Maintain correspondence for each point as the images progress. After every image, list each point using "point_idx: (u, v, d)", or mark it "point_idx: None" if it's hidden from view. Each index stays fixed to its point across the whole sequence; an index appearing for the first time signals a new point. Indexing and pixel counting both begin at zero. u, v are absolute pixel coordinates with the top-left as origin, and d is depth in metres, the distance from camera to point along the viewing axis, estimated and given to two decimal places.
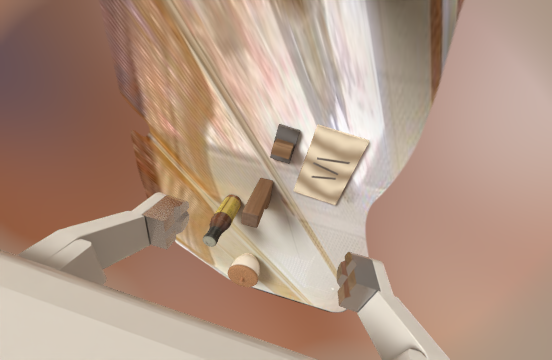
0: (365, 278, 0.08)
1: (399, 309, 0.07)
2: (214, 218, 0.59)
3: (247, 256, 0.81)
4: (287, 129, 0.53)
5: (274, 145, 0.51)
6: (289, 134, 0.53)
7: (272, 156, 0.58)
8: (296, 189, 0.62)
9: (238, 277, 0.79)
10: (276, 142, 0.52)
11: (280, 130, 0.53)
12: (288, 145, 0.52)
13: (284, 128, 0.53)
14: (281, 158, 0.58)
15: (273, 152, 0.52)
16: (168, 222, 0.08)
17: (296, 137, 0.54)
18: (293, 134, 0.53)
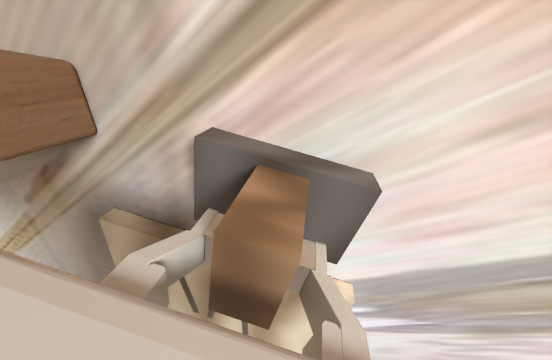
0: (302, 258, 0.08)
1: (328, 286, 0.07)
2: None
3: None
4: (353, 226, 0.11)
5: (289, 262, 0.06)
6: (327, 231, 0.12)
7: (205, 150, 0.10)
8: (111, 228, 0.17)
9: None
10: None
11: (351, 198, 0.10)
12: None
13: (360, 215, 0.11)
14: (205, 189, 0.12)
15: (231, 247, 0.06)
16: None
17: None
18: None
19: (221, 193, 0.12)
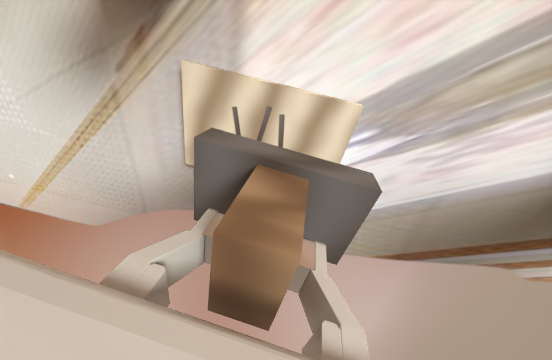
0: (302, 258, 0.08)
1: (328, 286, 0.07)
2: None
3: None
4: (353, 227, 0.11)
5: (289, 263, 0.06)
6: (327, 232, 0.12)
7: (204, 150, 0.10)
8: (189, 69, 0.23)
9: None
10: None
11: (351, 198, 0.10)
12: None
13: (360, 215, 0.11)
14: (205, 190, 0.12)
15: (230, 247, 0.06)
16: None
17: None
18: None
19: (221, 194, 0.12)
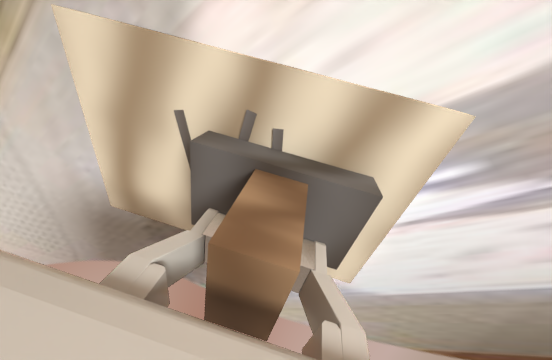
0: (302, 258, 0.08)
1: (328, 286, 0.07)
2: None
3: None
4: (353, 232, 0.11)
5: (287, 275, 0.06)
6: (327, 237, 0.11)
7: (201, 154, 0.10)
8: (73, 25, 0.11)
9: None
10: None
11: (352, 203, 0.10)
12: None
13: (360, 221, 0.10)
14: (202, 194, 0.12)
15: (226, 258, 0.06)
16: None
17: None
18: None
19: (218, 198, 0.11)
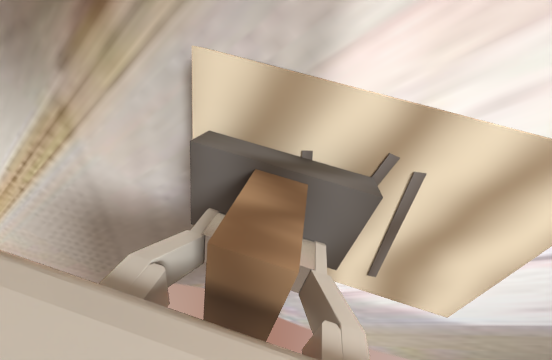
0: (302, 258, 0.08)
1: (328, 286, 0.07)
2: None
3: None
4: (353, 232, 0.11)
5: (287, 275, 0.06)
6: (327, 237, 0.11)
7: (201, 154, 0.10)
8: (211, 66, 0.10)
9: None
10: None
11: (352, 204, 0.10)
12: None
13: (360, 221, 0.10)
14: (202, 194, 0.12)
15: (226, 258, 0.06)
16: None
17: None
18: None
19: (218, 198, 0.11)
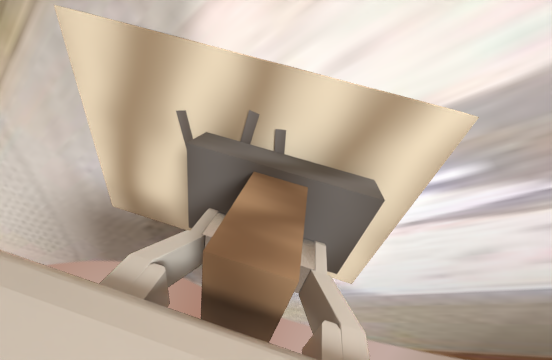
0: (302, 258, 0.08)
1: (328, 286, 0.07)
2: None
3: None
4: (354, 236, 0.11)
5: (286, 284, 0.06)
6: (327, 241, 0.11)
7: (198, 156, 0.10)
8: (76, 26, 0.11)
9: None
10: None
11: (353, 207, 0.10)
12: None
13: (361, 225, 0.10)
14: (199, 197, 0.11)
15: (222, 267, 0.06)
16: None
17: None
18: None
19: (216, 201, 0.11)
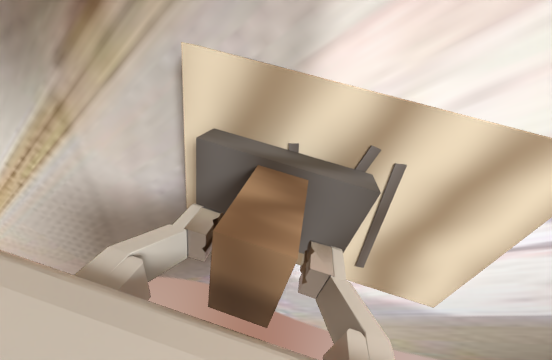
0: (320, 264, 0.08)
1: (348, 293, 0.07)
2: None
3: None
4: (352, 227, 0.11)
5: (286, 262, 0.06)
6: (327, 232, 0.12)
7: (206, 150, 0.11)
8: (200, 62, 0.10)
9: None
10: None
11: (350, 199, 0.10)
12: None
13: (359, 216, 0.11)
14: (206, 189, 0.12)
15: (230, 246, 0.06)
16: (208, 235, 0.08)
17: None
18: None
19: (222, 193, 0.12)
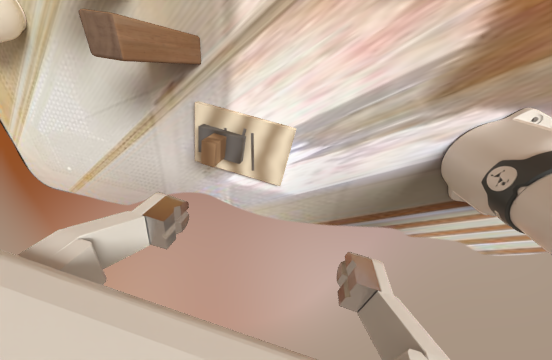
0: (365, 278, 0.08)
1: (399, 309, 0.07)
2: None
3: (10, 6, 0.37)
4: (240, 150, 0.42)
5: (213, 145, 0.37)
6: (234, 152, 0.42)
7: (201, 129, 0.41)
8: (199, 107, 0.41)
9: None
10: (219, 143, 0.38)
11: (237, 141, 0.41)
12: (219, 157, 0.41)
13: (240, 146, 0.41)
14: (201, 141, 0.43)
15: (204, 143, 0.37)
16: (168, 222, 0.08)
17: (232, 160, 0.43)
18: (235, 157, 0.43)
19: None
